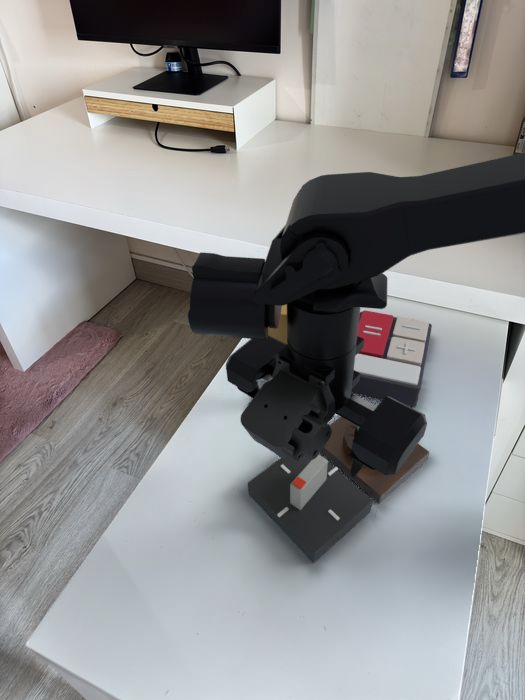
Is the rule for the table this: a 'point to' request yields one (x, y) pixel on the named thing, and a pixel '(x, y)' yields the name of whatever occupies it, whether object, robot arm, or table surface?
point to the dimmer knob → (308, 482)
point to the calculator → (391, 357)
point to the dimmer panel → (310, 506)
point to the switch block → (366, 478)
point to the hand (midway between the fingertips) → (316, 450)
